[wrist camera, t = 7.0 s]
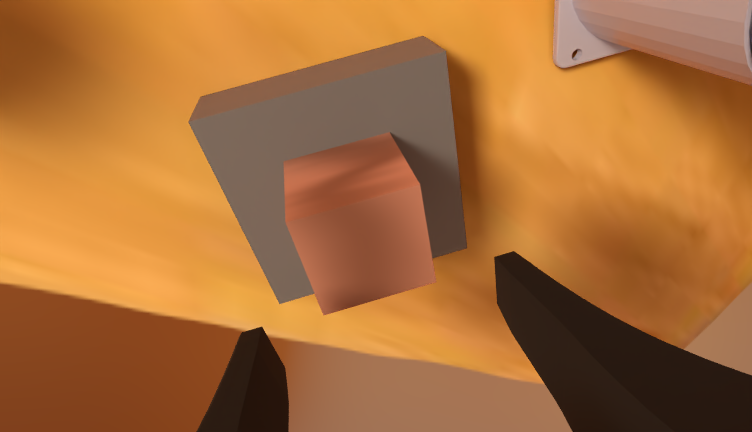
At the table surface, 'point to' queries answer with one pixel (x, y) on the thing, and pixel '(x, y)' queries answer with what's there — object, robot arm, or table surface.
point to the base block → (332, 142)
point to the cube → (358, 222)
